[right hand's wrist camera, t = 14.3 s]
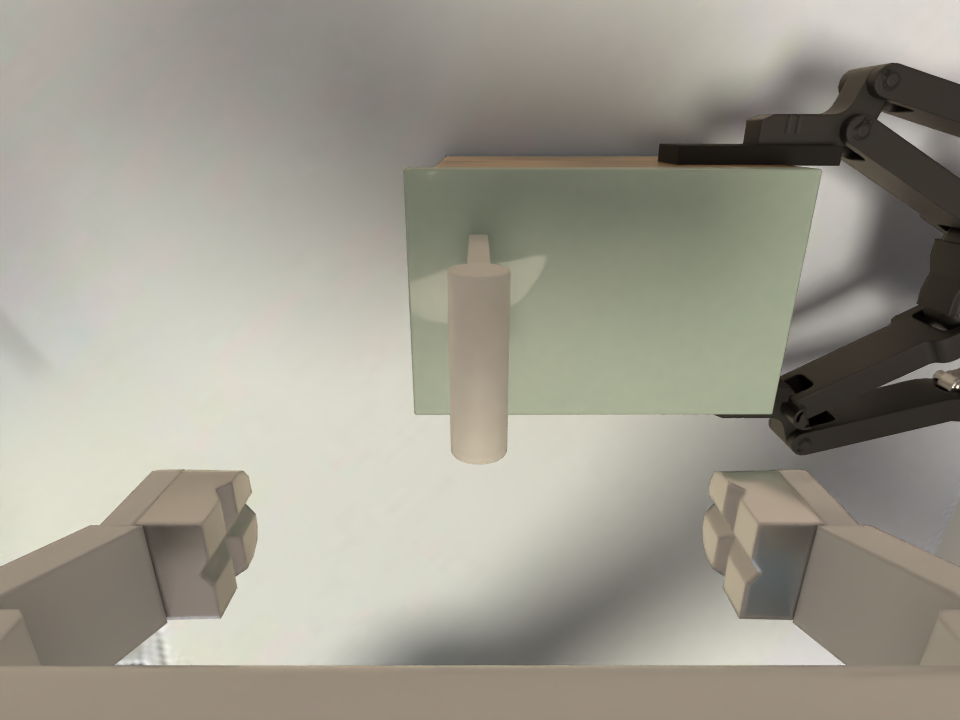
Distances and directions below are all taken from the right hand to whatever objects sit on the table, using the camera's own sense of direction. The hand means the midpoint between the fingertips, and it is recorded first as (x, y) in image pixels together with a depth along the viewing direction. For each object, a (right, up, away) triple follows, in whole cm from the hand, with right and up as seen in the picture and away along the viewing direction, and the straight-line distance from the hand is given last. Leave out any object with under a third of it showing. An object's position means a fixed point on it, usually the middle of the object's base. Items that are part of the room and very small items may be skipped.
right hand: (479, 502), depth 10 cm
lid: (+5, +5, +13) cm, 15 cm away
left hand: (+8, +6, +16) cm, 19 cm away
